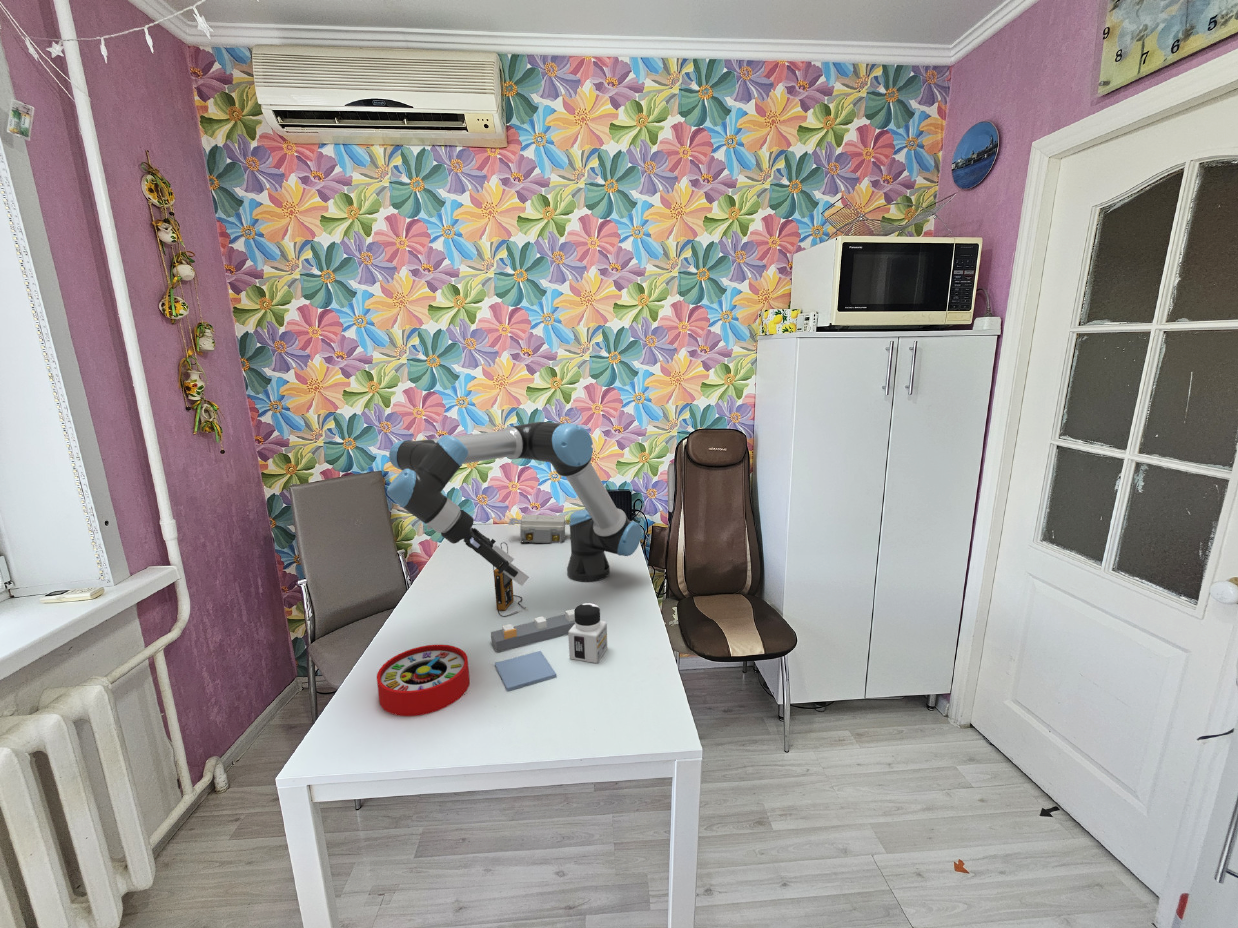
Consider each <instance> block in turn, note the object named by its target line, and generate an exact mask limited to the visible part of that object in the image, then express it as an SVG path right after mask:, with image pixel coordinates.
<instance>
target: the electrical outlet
mask: <svg viewBox="0 0 1238 928" xmlns="http://www.w3.org/2000/svg"><path fill="white" fill-rule="evenodd" d="M516 524H519V525H520V526H519V527H520V529H519V530H520V531H519V532H520V533H519V535H520V537H519V538H520V540H519V541H520V543H525V542H529V543H536V544H537V543H542V544H545V543H546V544H554V543H553V542H560V543H559V544H563V542H562V541H564V542H565V538H566V537H565V536H566V526H568V525H569V526H570V519H566V516H565V515H550V514H549V515H544V514H543V515H540V514H539V515H538V514H522V517H521V519H518V518H516V517H512V518H511V517H510V519H509V521H508V522H507V525H509V526H512V525H513V526H515V525H516ZM522 541H524V542H522Z"/></svg>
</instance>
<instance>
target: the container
mask: <svg viewBox="0 0 1238 928" xmlns="http://www.w3.org/2000/svg"><path fill="white" fill-rule="evenodd" d="M573 610H574V614H575V624H574V625H573V627H572V628H571V629H570V630H569V632H568V634H567V635H568V650H569V651H568V654H569V655H568V657H569V659H571V660H576V661H581V662H588V663H594V664H597V663H599V661H600V660H601V658H602V657H603V655H604V653H605V652H606V651H607V649H608V626H607V625H608V623H607V621H603V620H601V609H600V606H598V605H597V604H594V603H589V602H587V603H586V602H585V603H581V604H578V605H577V606H576V607H575V608H574V609H573Z"/></svg>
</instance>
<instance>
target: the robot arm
mask: <svg viewBox="0 0 1238 928" xmlns="http://www.w3.org/2000/svg"><path fill="white" fill-rule="evenodd" d="M593 444H594V443H593V438H592V436H591V434H590V432H589V431H588V430H587V429H586V428H585V427H583V426H582V425H579V424H573V423H570V422H564V423H562V422H561V423H560V422H550V421H549V422H547V421H535V422H530V423H525V424H517V425H513V426H512V425H511V426H507V427H505V428H504V429H503V430H499V431H491V432H490V431H489V432H484V433H474V434H463V435H456V436H452V435H449V434H444V435H442V436H441V437H439V438H438V437H437V438H430V439H422V440H421V439H420V440H410V439H406V440H404V439H402V440H399V441H397V442H395V443H394V444H393V445H392V446H391V447H390V449H389V452H388V458H389V462H390V463H391V465H392V466H393V467H394V468H396V469H397V470H400V472H399V473H398V474H397V476H396V477H394V478H393V480H392V481H391V482H390V483H389V485H388V487H387V489H386V494H387V496H388V497H389V498H390V499H391V500H392V501H393V502H395V503H396V504H397V505H398V506H399V507H400V508H402V509H404V510H405V511H407V512H408V513H409V514H411V515H412V516H413V517H415V518H416V519H418V520H420V521H421V522H422V523H423V524H425V525H426V528H427V530H431V529H432V530H433V531H435V532H436V533H438V534H440V535H441V537H442V538H444V539H445V540H447V541H448V542H449V543H451V544H455V545H456V544H457V543H459V542H460V541H462V540H463V543H465V545H466V546H467V547H468V548H470V549H472V550H473V551H474V552H475V553H476V554H478V555H480V556H481V557H482V558H483V559H484V560H485V561H487V562H488V563H489V564H491V566H492V567H493V566H494V569H496V568H497V569H498V570H499V571H498V573H499V574H501V573H502V572H503V573H505V574H506V575H507V576H509V577H510V578H511V579H512V581H514V582H515V583H517V584H518V585H519V586H520V587H524V585H525V583H526V582H527V581H528V580H529V579H530V576H529V575H528V574H527V573H525V572H524V571H523V570H521V569H520V568H519V567H518V566H516V565H514V564H513V562H514V561H515V558H514V557H513V556H511V555H510V554H509V552H508V553H507V552H506V551H505V550H504V549H503V548H502V549H501V546H498V545H497V544H496V540H495V539H493V538H491V539H490V538H489V537H487V536H485V535H484V534H483V533H482V532H480V531H479V530H478V529H477V528H476V527H474V528H473V525H474V517H473V516H472V515H471V514H469V513H468V512H466V510H464V509H461V507H460V506H459V505H458V504H457V503H455V502H454V501H452V499H450V498H449V497H447V496H446V495H444V494H443V492H442V491H443V490H444V489H445V488H446V486H447V485H448V484H449V482H450V481H451V480H452V478H453V477H454V476H455V474H456V473H457V472H458V471H459V469H461V467H462V466H463V465H464V464H470V463H478V462H482V461H483V462H484V461H490V460H495V459H497V460H498V459H503V458H507V459H510V460H518V459H522V460H523V459H525V460H532V461H540V462H545V463H550V464H551V466H552V467H553V468H554V469H553V470H555V472H556V473H557V474H558V475H559V476H560V477H565V478H566V479H567V481H568V482H569V484H570V486H571V487H572V489H573V491H574V493H575V494H576V495H577V497H578V499H579V500H580V502H581V504H582V505H583V507H584V508H585V509H580V510H576V511H574V512H572V513H571V515H570V519H569V521H570V525H569V535H570V537H569V538H570V551H571V553H570V556H569V561H568V564H567V566H566V574H567V577H568V578H569V579H571V580H573V581H578V582H585V583H586V582H595V581H600V580H603V579H605V578H607V577H608V576H609V575H610V573H611V571H610V570H611V569H610V564H609V562H608V558H607V556H606V553H607V552H608V553H611V554H614V555H618V556H620V557H621V556H623V557H628V556H631V555H633V554H634V553H635V552H636V551H637V549H638V547H639V546H640V542H641V538H642V529H641V526H640V524H639V523H638V522H636V521H634V520H632V521H631V520H630V519H628V516H627V515H626V513H625V511H623V510H622V509H621V508H618V507H616V505H615V503H614V501H613V500H612V498H611V496H610V494H609V492H608V490H607V489H606V487H605V486H604V484H603V481H602V480H601V478H600V476H599V475H598V473H597V471H596V470H595V468H594V466H593V464H592V463H591V461H592V459H593V454H594V453H593V452H594V448H593V447H592V446H593ZM605 552H606V553H605ZM501 564H502V565H501ZM500 565H501V566H500Z"/></svg>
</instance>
